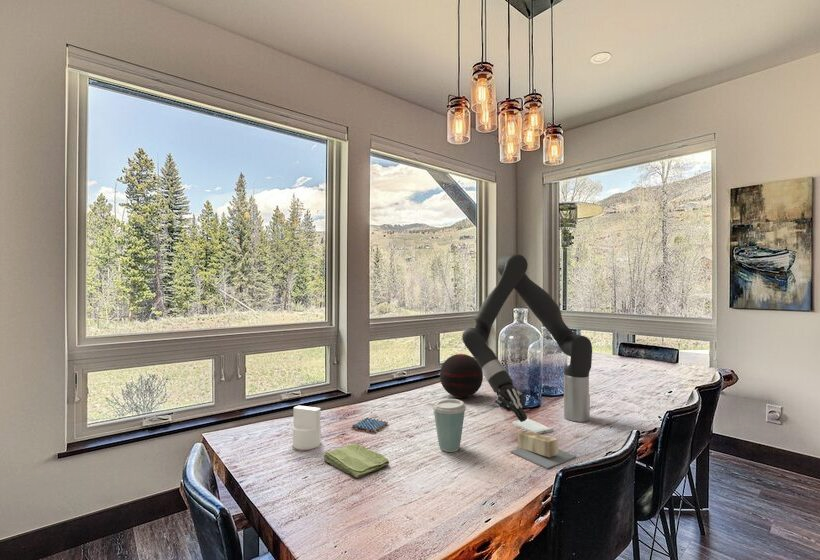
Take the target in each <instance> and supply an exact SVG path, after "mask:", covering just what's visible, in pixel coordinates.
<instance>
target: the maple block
mask: <svg viewBox="0 0 820 560" xmlns="http://www.w3.org/2000/svg"><path fill="white" fill-rule="evenodd" d="M558 439H559V438H554V437H551V436H547V435H544V434H538V433H534V432H531V431H527V430H523V431H520V432H517V447H518V448H522V449H525V450H528V451H531V452H534V453H537V454H540V455H543V456H546V457H552V456H554V455H557V454H558V449H559V443H558V441H559V440H558Z"/></svg>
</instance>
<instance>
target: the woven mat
mask: <svg viewBox="0 0 820 560" xmlns="http://www.w3.org/2000/svg"><path fill="white" fill-rule="evenodd" d="M388 426H389V423H388V421H387V420H384V421H383V420H382V419H380V420H379V419H376V418H369V417H366V418H363V419H361V420H358V421H357V422H356V423H354V424H352V426H351V430H353V431H358V432H363V433H366V434H367V433H368V434H371V435H372V434H373V435H375V434H376V433H378V432H379V431H381V430H383V429H384V428H387V427H388Z"/></svg>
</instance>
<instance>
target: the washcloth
mask: <svg viewBox="0 0 820 560" xmlns="http://www.w3.org/2000/svg"><path fill="white" fill-rule="evenodd" d="M323 458H324V461H325V462H326V463H328V464H330V465H331V466H333V467H335V468H336V469H339V470H341V471H342V472H345V473H347V474H349V475H351V476H352V477H354V478H356V479H359V478H361V477H363V476H365V475H367V474H370V473H371V472H375V471H377V470H379V469H381V468H383V467H384V466H388V465H389V464H390V461H389V459H388V458H387V457H385V456H384V455H383V454H381V453H378V452H376V451H374V450H372V449H369V448H367V447H366V446H365V445H361V444H359V443H350V444H347V445H345V446H343V447H340V448H336V449H335V448H334V449H332V450H328V451H326V452H325V453H324V454H323Z"/></svg>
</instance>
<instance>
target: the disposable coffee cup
mask: <svg viewBox="0 0 820 560" xmlns="http://www.w3.org/2000/svg"><path fill="white" fill-rule="evenodd" d="M432 410H433V415H434V423H435V428H436V435H437V436H436V437H437V442H438V443H437V444H438V446H439V449H440V450H441V451H442V452H446V453H447V452H448V453H455V452H457V451H459V450H460V447H461V443H462V434H463V427H464V418H465V413H466V412H465V411H466V406H465V402H464V401H463V400H460V399H457V398H446V399H441V400H439V401H437V402H436V403H435V404H434V405H433V407H432Z"/></svg>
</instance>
